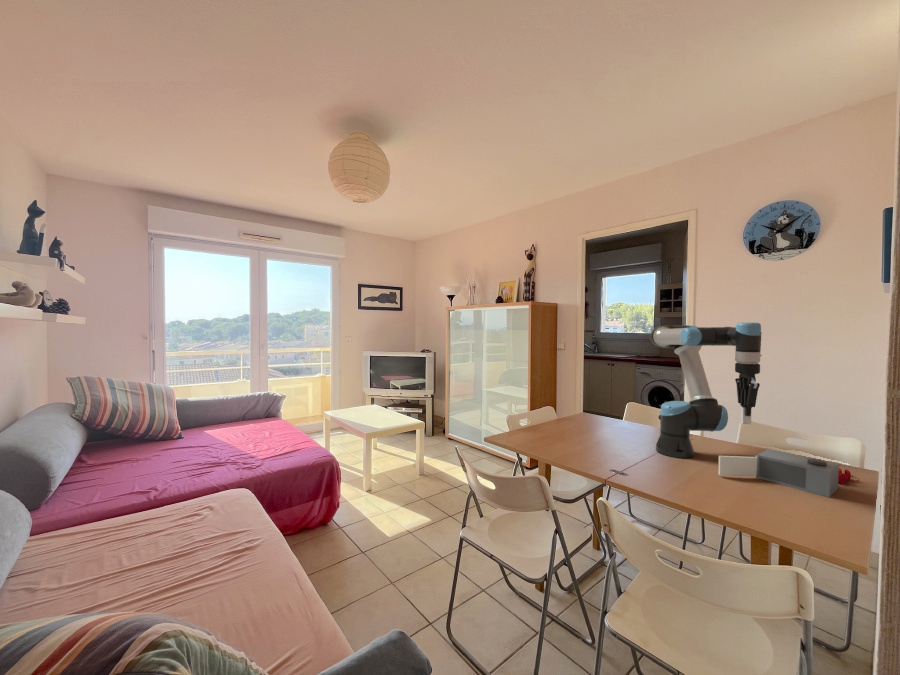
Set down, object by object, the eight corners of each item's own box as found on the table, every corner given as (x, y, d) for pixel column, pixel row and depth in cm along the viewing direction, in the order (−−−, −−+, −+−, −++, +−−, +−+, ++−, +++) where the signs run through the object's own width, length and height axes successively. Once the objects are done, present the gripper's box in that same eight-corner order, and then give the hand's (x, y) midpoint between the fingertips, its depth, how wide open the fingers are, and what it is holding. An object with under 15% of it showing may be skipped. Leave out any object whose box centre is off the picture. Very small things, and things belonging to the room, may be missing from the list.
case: (756, 477, 144) (757, 452, 144) (767, 470, 151) (768, 446, 151) (829, 497, 128) (830, 468, 127) (838, 488, 134) (838, 461, 134)
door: (755, 475, 145) (755, 454, 145) (759, 478, 143) (759, 456, 143) (716, 474, 147) (717, 453, 147) (719, 476, 145) (720, 455, 145)
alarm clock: (807, 460, 153) (859, 463, 140) (811, 476, 152) (864, 480, 139) (797, 465, 148) (850, 469, 135) (801, 481, 147) (855, 487, 134)
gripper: (768, 364, 136) (766, 429, 137) (750, 361, 148) (748, 419, 149) (744, 364, 138) (743, 427, 139) (728, 360, 150) (726, 418, 151)
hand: (745, 423), depth 144 cm, fingers closed
